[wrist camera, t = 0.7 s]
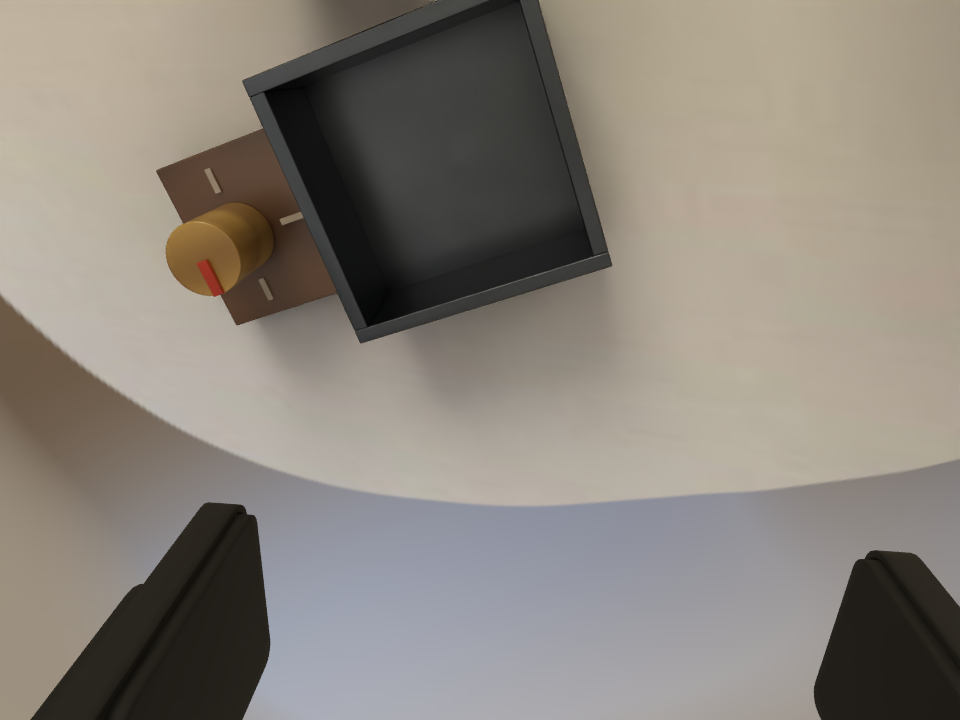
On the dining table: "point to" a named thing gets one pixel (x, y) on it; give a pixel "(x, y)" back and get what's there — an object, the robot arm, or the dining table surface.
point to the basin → (434, 162)
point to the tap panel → (262, 185)
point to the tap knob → (219, 248)
